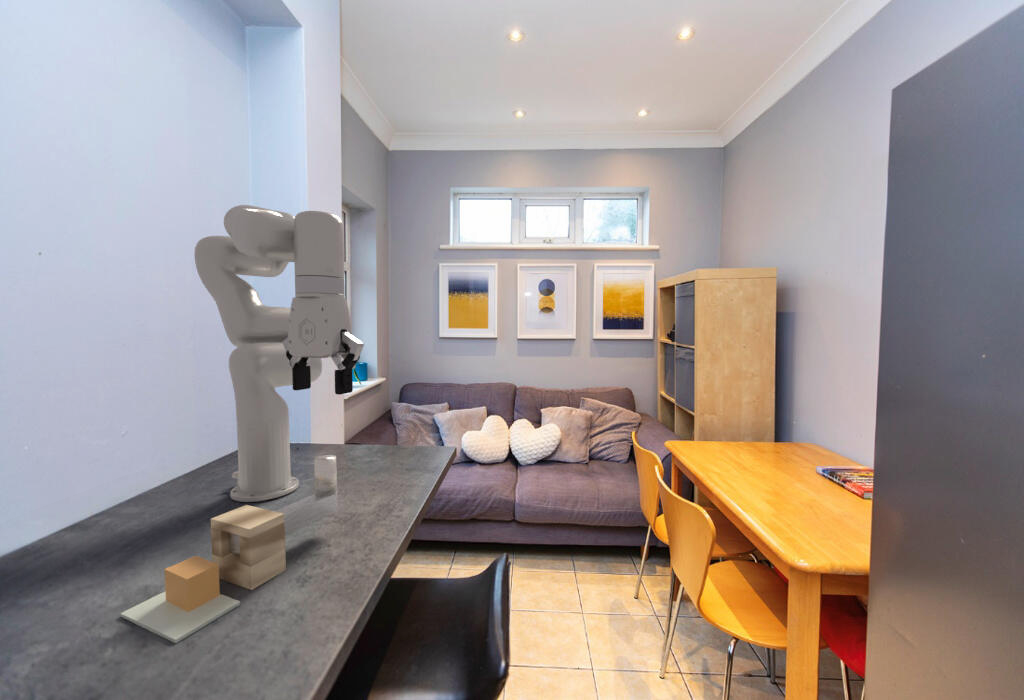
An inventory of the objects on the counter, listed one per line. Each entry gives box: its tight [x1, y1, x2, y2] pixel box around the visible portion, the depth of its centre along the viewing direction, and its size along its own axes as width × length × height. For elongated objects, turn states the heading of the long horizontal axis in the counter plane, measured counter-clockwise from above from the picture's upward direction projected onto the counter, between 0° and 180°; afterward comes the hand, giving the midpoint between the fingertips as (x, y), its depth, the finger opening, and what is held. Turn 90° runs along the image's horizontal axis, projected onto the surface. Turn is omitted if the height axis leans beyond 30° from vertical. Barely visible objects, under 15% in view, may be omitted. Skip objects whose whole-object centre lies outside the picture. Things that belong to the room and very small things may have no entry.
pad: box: [120, 591, 241, 644], centre depth 51 cm, size 11×7×1 cm, turn 66°
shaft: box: [230, 454, 339, 555], centre depth 64 cm, size 3×17×9 cm, turn 156°
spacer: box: [164, 555, 221, 612], centre depth 52 cm, size 5×4×4 cm
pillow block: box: [210, 504, 287, 591], centre depth 58 cm, size 8×5×8 cm, turn 66°
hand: (322, 391), depth 71 cm, fingers open, 9 cm apart
